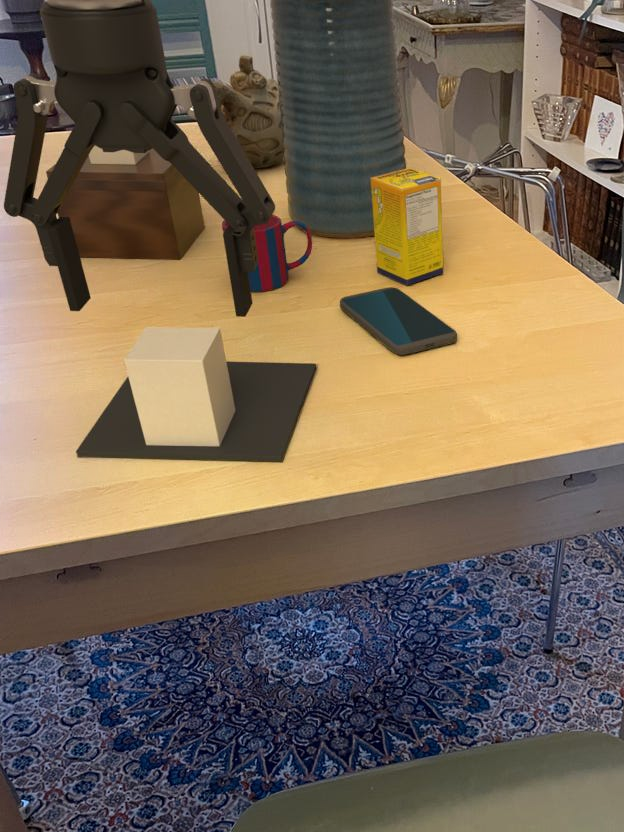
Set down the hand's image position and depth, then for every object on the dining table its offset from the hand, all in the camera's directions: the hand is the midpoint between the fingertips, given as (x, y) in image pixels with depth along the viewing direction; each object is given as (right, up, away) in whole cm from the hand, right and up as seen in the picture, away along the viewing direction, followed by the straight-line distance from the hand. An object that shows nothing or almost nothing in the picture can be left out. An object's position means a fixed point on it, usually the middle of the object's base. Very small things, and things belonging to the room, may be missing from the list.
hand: (162, 307), depth 77 cm
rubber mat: (0, -6, +11) cm, 12 cm away
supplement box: (+18, +17, +37) cm, 44 cm away
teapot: (-9, +47, +69) cm, 84 cm away
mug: (+2, +16, +35) cm, 38 cm away
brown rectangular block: (-18, +24, +44) cm, 54 cm away
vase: (+8, +30, +51) cm, 60 cm away
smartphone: (+17, +7, +26) cm, 32 cm away
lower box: (-18, +32, +38) cm, 52 cm away
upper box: (0, -8, +7) cm, 11 cm away
